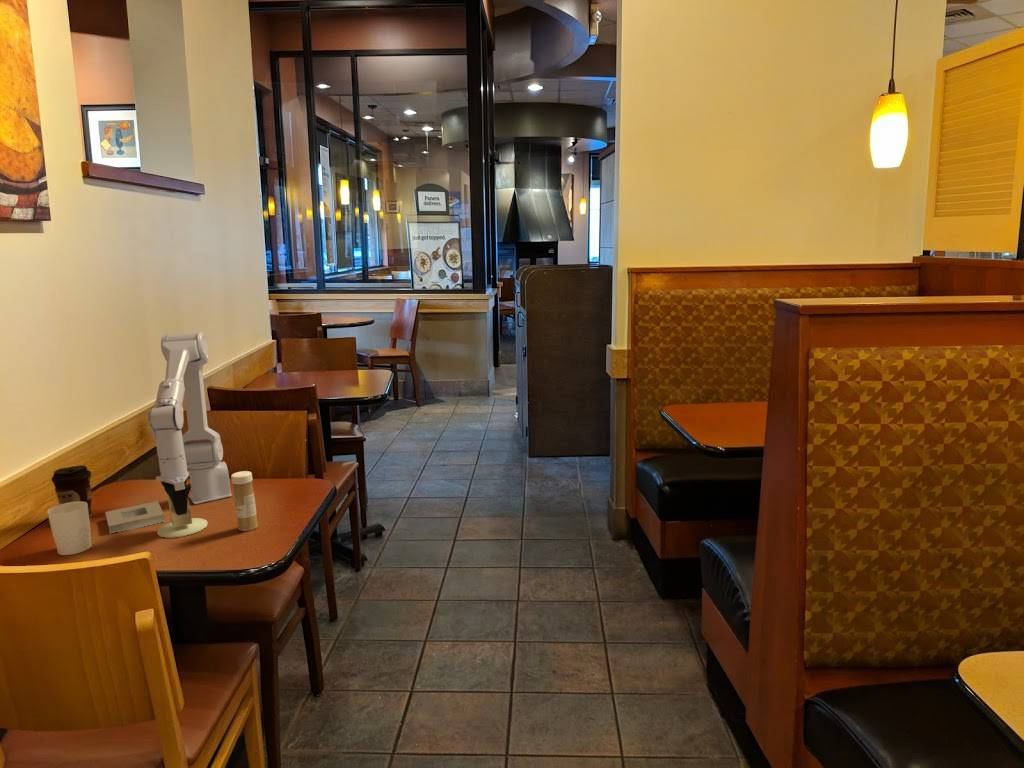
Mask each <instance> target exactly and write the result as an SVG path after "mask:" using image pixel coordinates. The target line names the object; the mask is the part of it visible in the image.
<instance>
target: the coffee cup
mask: <svg viewBox="0 0 1024 768" xmlns="http://www.w3.org/2000/svg"><path fill="white" fill-rule="evenodd" d="M91 476H92V472H91V471H90V470H88V466H86V465H73V466H69V467H61V468H58V469H56V470H55V471H53V475H52V477H51V482H52V483H53V485H54V488H55V489H54V491H55V494H56V497H57V500H58V505H60V504H64V503H69V502H77V501H82V502H86V503H87V504H88V513H89V516H91V515H92V514H93V512H92V486H91Z"/></svg>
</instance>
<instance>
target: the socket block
mask: <svg viewBox="0 0 1024 768" xmlns="http://www.w3.org/2000/svg"><path fill="white" fill-rule="evenodd" d="M104 513H105V517H106V523H107V527H108V531H109V535H112V534H111V533H114V534H116V533H115V532H118V533H122V532H121V531H123V532H126V531H125V530H127V531H130V530H135V529H139V528H140V529H141V528H144V526H145V527H148V525H149V526H153V524H154V525H157V523H158V524H162V523H161V522H163V523H165V522H166V521H165V515H164V512H163V510H162V507H161V505H160V503H159V501H158V500H154V501H150V502H145V503H141V504H137V505H131V506H127V507H122V508H116V509H113V510H108V511H105V512H104Z"/></svg>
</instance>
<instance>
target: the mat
mask: <svg viewBox="0 0 1024 768" xmlns="http://www.w3.org/2000/svg"><path fill="white" fill-rule="evenodd" d="M191 519H192V524H188V525H184V526H179V527H175V528H174V527H173V525H172V522H168V523H166V524H164V525H162V526H161V527H159V528H158V530H157V531H156V532H157V535H159V536H158V537H160V538H162V537H165V538H164V539H175V538H174V537H179V538H184V537H183V536H185V537H188V536H187V535H189V536H192V535H195V534H198V533H200V532H202V531H203V529H204V528H205V529H206V528H207V527H208V525H209V524H208V520H206V519H204V518H199V517H194V518H193V517H191ZM205 529H204V530H205ZM201 530H202V531H201ZM199 531H200V532H199ZM197 532H198V533H197ZM194 533H195V534H194ZM191 534H192V535H191Z"/></svg>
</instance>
